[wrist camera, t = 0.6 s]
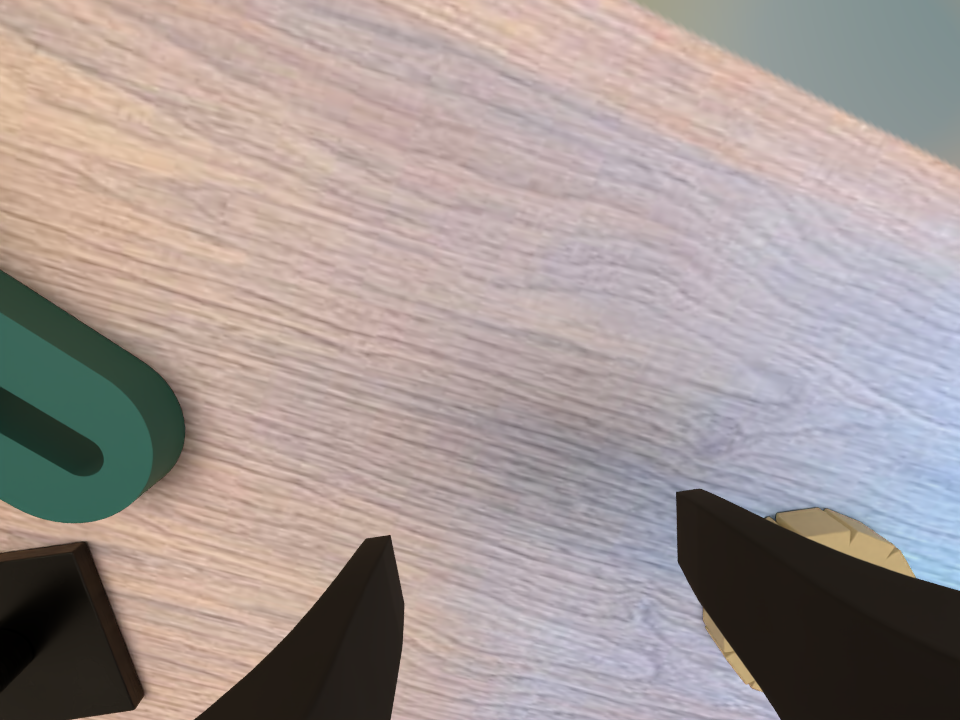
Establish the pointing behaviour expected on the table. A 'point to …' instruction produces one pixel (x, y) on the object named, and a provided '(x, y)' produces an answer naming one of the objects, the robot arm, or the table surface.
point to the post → (60, 639)
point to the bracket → (76, 415)
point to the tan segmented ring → (833, 534)
